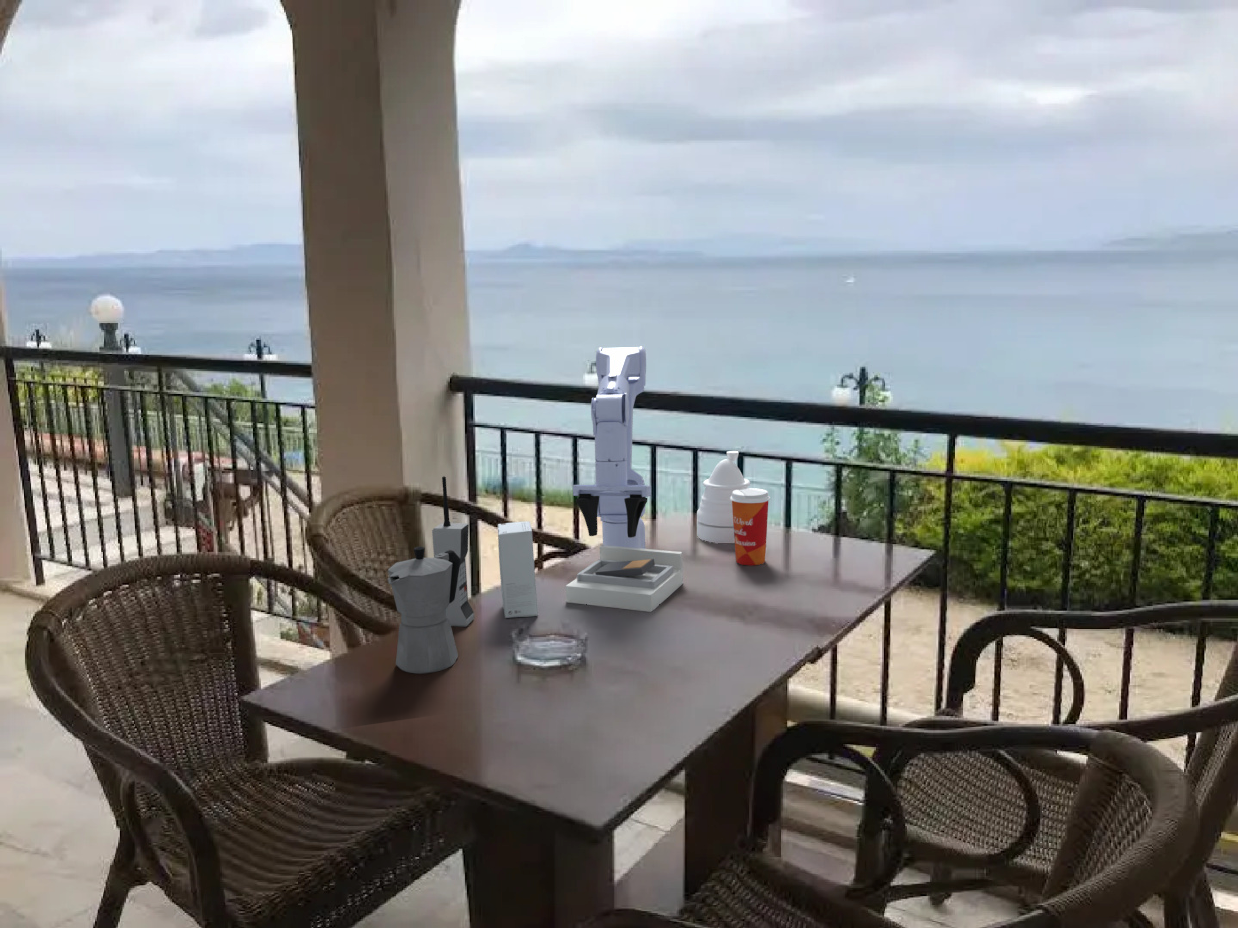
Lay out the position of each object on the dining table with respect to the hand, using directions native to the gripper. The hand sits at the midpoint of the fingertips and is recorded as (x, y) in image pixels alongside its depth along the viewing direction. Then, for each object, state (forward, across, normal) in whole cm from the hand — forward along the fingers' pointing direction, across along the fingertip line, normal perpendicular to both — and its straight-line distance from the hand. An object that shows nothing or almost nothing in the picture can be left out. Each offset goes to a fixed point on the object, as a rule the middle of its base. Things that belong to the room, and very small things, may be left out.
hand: (612, 536), depth 181 cm
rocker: (+6, +3, -1) cm, 6 cm away
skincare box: (+12, -11, -14) cm, 22 cm away
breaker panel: (+10, +3, 0) cm, 10 cm away
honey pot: (+4, +9, +41) cm, 42 cm away
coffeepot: (+15, -13, -38) cm, 43 cm away
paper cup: (+7, +19, +24) cm, 32 cm away
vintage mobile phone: (+13, -18, -23) cm, 32 cm away
